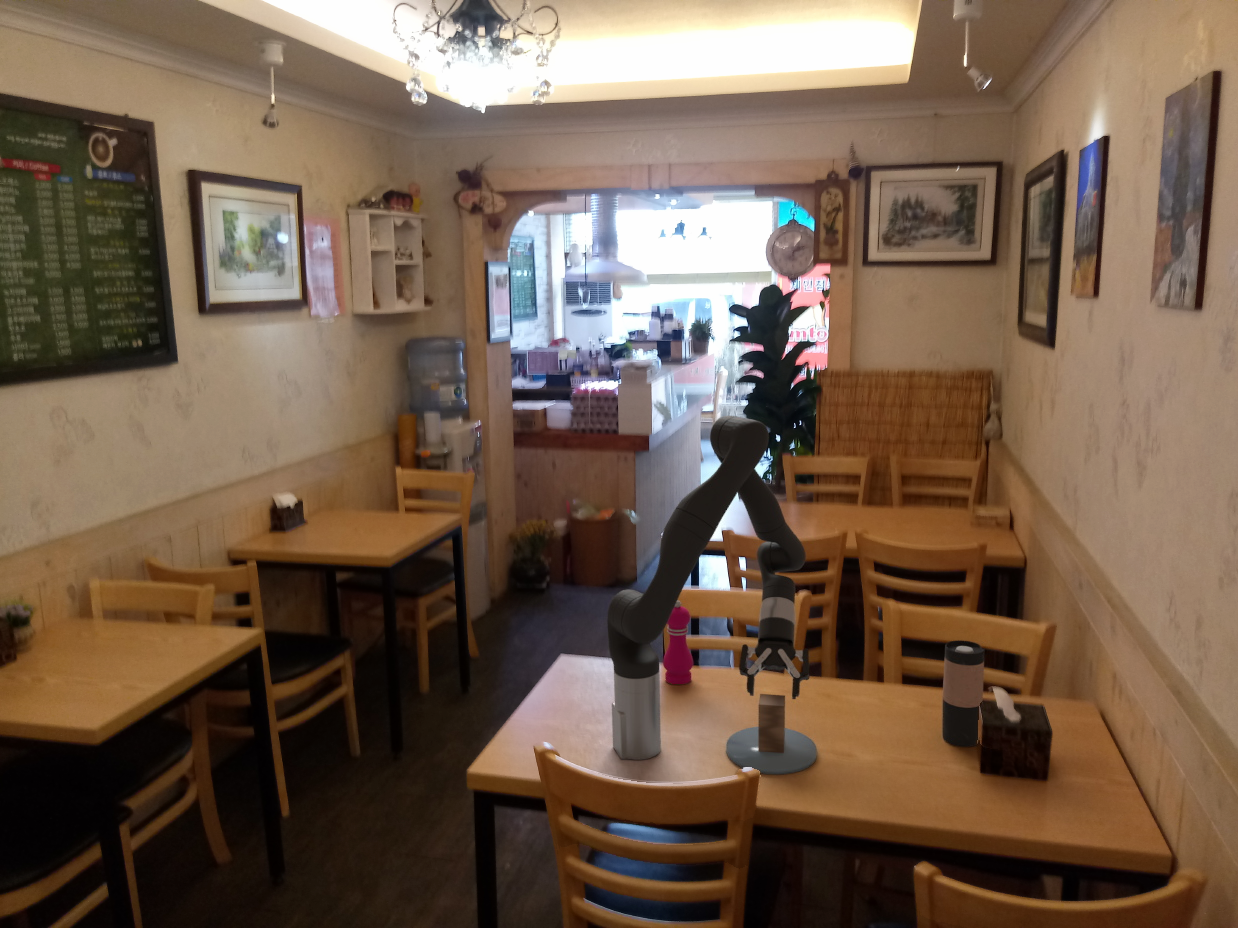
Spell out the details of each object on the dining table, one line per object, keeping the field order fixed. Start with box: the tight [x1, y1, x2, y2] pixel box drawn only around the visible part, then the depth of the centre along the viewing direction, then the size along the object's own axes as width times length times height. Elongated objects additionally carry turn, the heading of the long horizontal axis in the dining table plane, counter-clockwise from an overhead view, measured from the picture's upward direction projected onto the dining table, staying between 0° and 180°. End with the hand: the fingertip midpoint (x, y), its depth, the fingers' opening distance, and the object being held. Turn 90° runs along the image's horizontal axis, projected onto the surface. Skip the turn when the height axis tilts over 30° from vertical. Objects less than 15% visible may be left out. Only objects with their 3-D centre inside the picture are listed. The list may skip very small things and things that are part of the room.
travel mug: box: [941, 639, 986, 748], centre depth 190 cm, size 8×8×20 cm
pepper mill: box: [662, 600, 694, 685], centre depth 223 cm, size 7×7×20 cm
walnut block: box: [757, 693, 786, 753], centre depth 187 cm, size 5×5×10 cm
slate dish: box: [725, 726, 818, 775], centre depth 188 cm, size 18×18×1 cm
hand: (772, 696), depth 189 cm, fingers open, 8 cm apart
